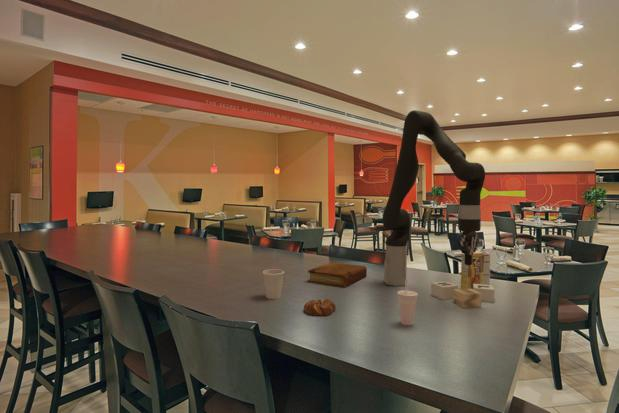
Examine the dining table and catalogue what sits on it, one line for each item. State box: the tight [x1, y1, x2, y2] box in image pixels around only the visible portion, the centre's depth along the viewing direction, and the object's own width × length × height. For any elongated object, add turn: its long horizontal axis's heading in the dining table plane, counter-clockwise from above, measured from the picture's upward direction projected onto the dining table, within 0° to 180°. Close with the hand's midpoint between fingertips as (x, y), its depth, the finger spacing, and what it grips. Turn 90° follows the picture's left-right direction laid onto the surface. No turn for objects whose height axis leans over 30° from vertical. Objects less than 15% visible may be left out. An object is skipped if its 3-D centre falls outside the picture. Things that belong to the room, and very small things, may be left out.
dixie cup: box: [262, 268, 285, 300], centre depth 148 cm, size 8×8×10 cm
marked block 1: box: [430, 281, 459, 301], centre depth 151 cm, size 7×7×5 cm
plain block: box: [453, 288, 482, 309], centre depth 141 cm, size 7×7×5 cm
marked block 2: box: [473, 284, 495, 303], centre depth 148 cm, size 7×7×5 cm
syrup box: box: [474, 250, 491, 285], centre depth 169 cm, size 6×6×14 cm
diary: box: [307, 261, 368, 289], centre depth 177 cm, size 23×19×6 cm
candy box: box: [459, 252, 484, 289], centre depth 160 cm, size 9×4×15 cm, turn 116°
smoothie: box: [397, 278, 419, 326], centre depth 121 cm, size 6×6×14 cm
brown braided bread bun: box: [303, 298, 336, 317], centre depth 132 cm, size 12×11×4 cm
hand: (468, 264), depth 140 cm, fingers closed
